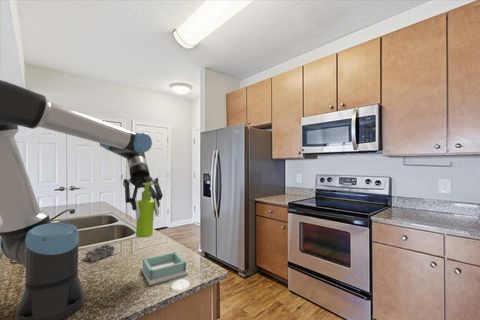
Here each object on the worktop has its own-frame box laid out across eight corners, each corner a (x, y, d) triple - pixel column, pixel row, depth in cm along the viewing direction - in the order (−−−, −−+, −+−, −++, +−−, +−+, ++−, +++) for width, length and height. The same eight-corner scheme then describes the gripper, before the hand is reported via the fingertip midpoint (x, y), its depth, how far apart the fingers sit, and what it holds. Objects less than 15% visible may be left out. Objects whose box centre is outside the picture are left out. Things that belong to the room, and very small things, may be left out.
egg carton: (93, 263, 95) (93, 253, 95) (82, 259, 98) (82, 250, 98) (116, 253, 105) (116, 244, 105) (106, 250, 108) (106, 242, 108)
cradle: (149, 285, 78) (149, 273, 78) (140, 269, 90) (141, 258, 90) (188, 274, 86) (188, 263, 86) (175, 260, 98) (175, 250, 98)
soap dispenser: (157, 234, 89) (160, 183, 89) (140, 238, 83) (143, 184, 84) (150, 231, 93) (153, 181, 93) (133, 234, 87) (136, 182, 88)
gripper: (159, 174, 106) (170, 217, 93) (112, 175, 95) (118, 224, 82) (163, 163, 101) (175, 206, 88) (114, 163, 90) (121, 213, 77)
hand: (148, 215), depth 85 cm, fingers closed on soap dispenser, 6 cm apart
